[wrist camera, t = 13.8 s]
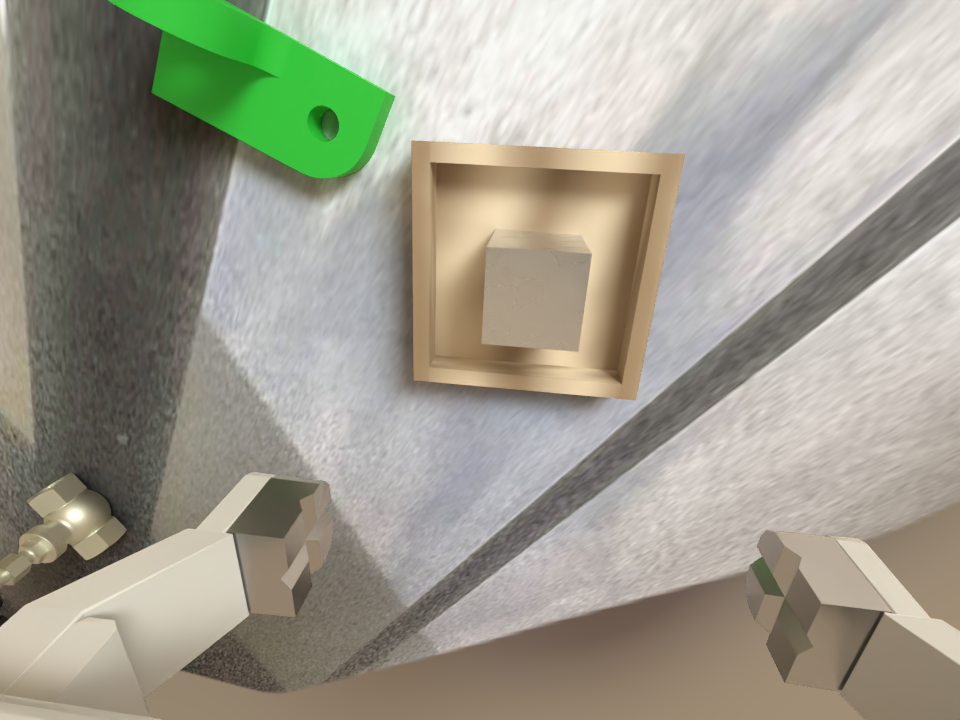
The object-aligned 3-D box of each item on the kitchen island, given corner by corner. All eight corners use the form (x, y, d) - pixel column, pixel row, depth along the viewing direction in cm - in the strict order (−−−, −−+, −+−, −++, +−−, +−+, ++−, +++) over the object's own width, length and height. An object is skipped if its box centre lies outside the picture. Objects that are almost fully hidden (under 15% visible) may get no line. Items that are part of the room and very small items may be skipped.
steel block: (580, 234, 28) (592, 253, 22) (570, 315, 30) (578, 351, 24) (495, 229, 28) (486, 246, 23) (491, 309, 30) (481, 343, 25)
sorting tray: (669, 154, 27) (685, 154, 24) (627, 379, 32) (635, 400, 30) (423, 141, 28) (411, 140, 25) (423, 361, 33) (413, 380, 31)
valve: (97, 458, 40) (-67, 572, 29) (150, 515, 42) (15, 642, 31) (47, 483, 42) (-125, 600, 31) (101, 537, 44) (-44, 665, 33)
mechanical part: (176, 96, 28) (52, 76, 21) (198, -15, 26) (67, -81, 19) (359, 195, 30) (301, 207, 22) (396, 96, 27) (345, 74, 20)
